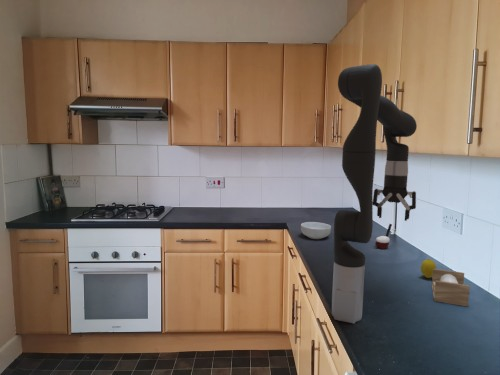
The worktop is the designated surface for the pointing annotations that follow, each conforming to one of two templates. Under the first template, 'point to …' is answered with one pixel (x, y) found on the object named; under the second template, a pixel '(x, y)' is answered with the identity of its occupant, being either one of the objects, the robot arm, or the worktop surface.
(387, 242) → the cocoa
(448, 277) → the paper roll
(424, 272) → the lemon
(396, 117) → the robot arm
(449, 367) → the worktop surface
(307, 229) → the cereal bowl
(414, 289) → the worktop surface
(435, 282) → the roll holder
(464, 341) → the worktop surface
